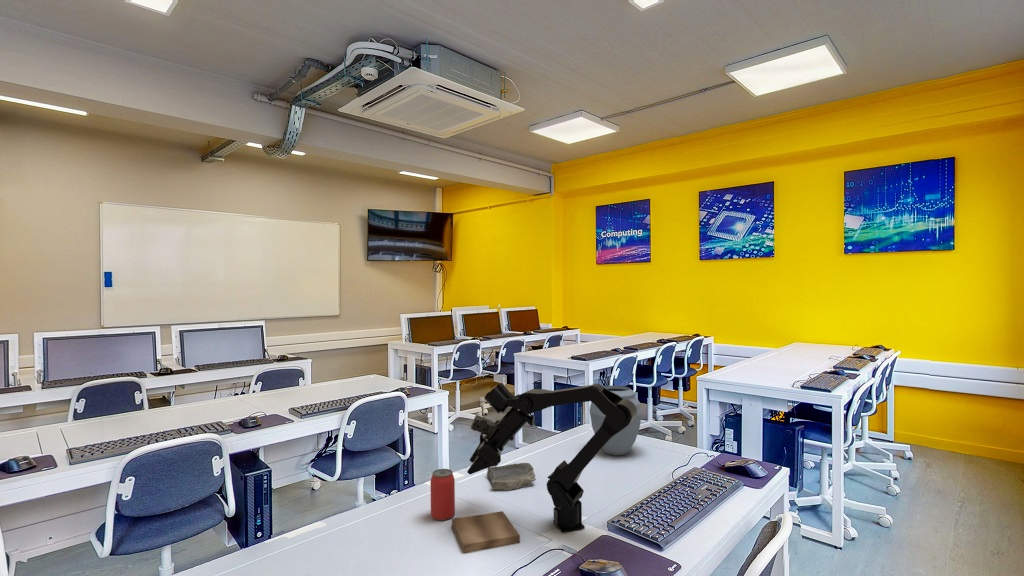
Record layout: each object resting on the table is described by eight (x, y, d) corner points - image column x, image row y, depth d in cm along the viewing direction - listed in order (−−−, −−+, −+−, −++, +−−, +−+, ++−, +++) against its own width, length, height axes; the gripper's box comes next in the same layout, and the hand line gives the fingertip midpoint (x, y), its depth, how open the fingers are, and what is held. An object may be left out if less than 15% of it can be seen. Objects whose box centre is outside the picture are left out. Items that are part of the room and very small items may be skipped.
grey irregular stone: (492, 493, 152) (492, 481, 152) (485, 475, 168) (485, 464, 168) (541, 489, 155) (541, 477, 155) (530, 471, 171) (529, 460, 171)
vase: (643, 446, 195) (643, 384, 195) (640, 463, 176) (640, 394, 176) (593, 442, 201) (593, 382, 201) (586, 458, 182) (585, 392, 182)
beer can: (457, 510, 140) (456, 468, 140) (452, 521, 133) (451, 477, 133) (434, 510, 140) (433, 467, 140) (428, 520, 134) (427, 476, 134)
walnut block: (502, 520, 135) (502, 511, 135) (519, 545, 122) (519, 535, 122) (451, 528, 130) (451, 519, 131) (464, 555, 117) (464, 544, 117)
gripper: (488, 398, 146) (451, 436, 146) (486, 414, 128) (444, 458, 127) (516, 424, 146) (479, 463, 146) (518, 444, 128) (475, 488, 127)
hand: (469, 467), depth 137 cm, fingers open, 9 cm apart
